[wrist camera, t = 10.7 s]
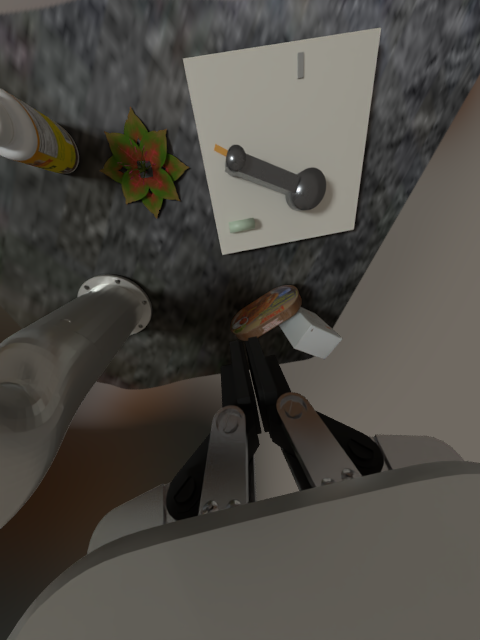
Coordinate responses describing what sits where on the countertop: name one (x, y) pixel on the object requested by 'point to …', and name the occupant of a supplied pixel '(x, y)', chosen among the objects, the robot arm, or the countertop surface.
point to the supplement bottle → (34, 137)
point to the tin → (266, 312)
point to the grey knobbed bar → (278, 179)
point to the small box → (310, 334)
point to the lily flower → (150, 150)
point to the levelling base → (284, 131)
